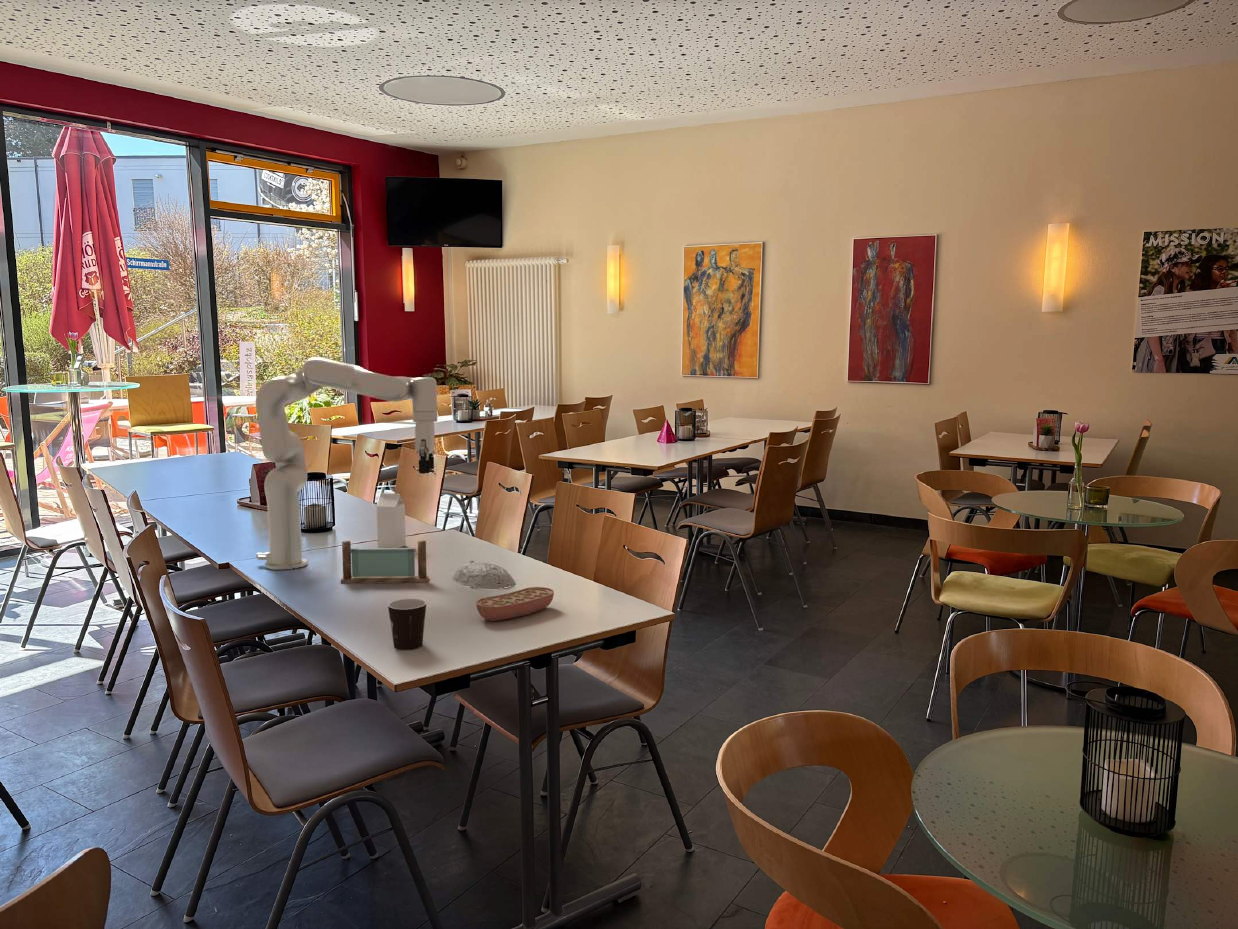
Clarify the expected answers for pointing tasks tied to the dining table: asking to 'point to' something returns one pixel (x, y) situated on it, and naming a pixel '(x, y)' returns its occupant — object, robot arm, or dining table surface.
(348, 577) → the gate frame
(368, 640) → the dining table surface
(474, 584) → the grey rock
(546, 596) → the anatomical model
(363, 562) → the gate leaf
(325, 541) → the dining table surface
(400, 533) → the milk carton
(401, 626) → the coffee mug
